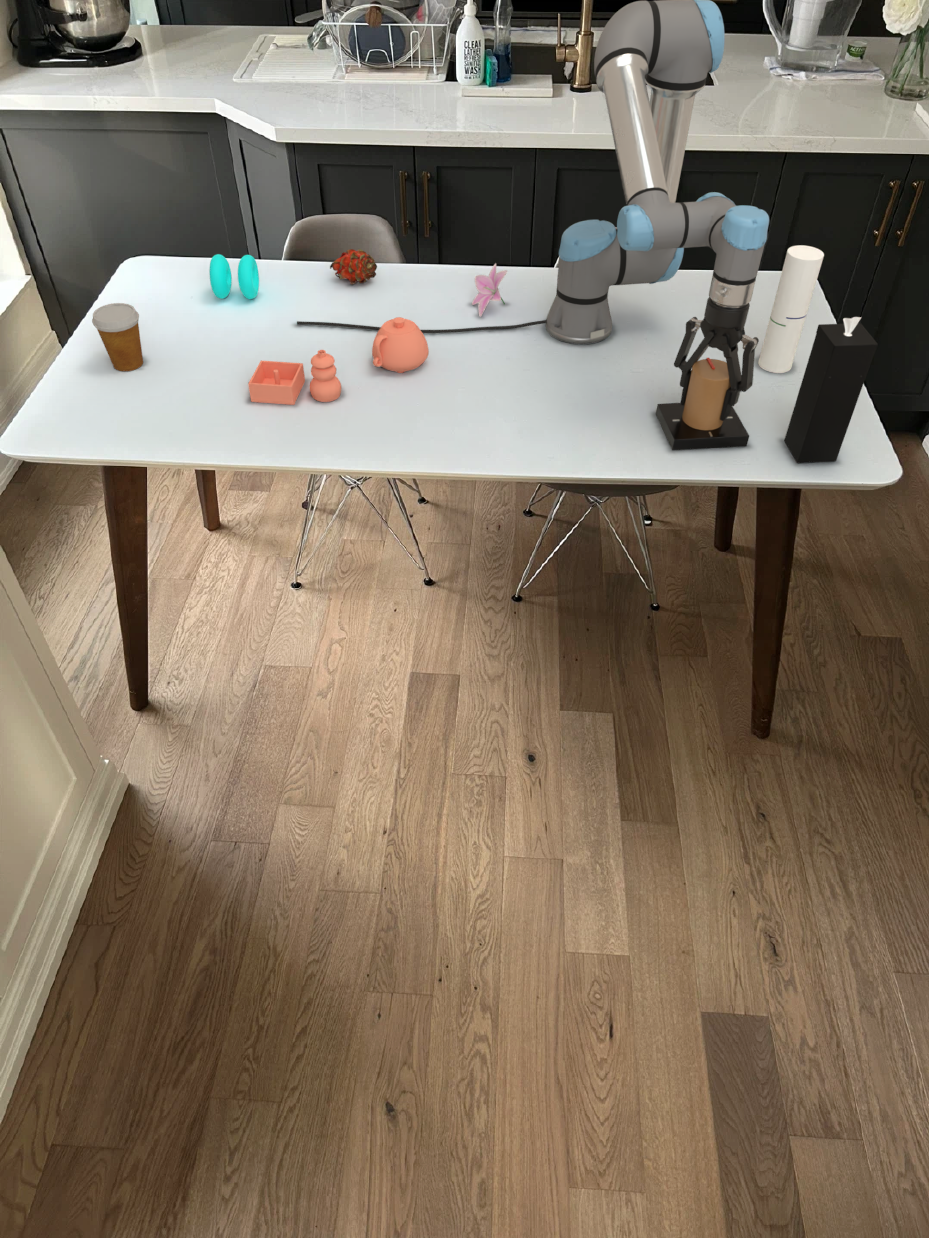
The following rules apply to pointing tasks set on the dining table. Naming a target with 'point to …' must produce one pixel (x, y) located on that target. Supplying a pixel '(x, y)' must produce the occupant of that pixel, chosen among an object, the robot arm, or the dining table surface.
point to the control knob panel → (692, 438)
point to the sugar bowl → (399, 346)
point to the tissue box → (829, 390)
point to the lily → (488, 288)
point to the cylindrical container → (790, 308)
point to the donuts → (223, 279)
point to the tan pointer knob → (706, 394)
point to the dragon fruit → (354, 266)
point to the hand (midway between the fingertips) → (704, 409)
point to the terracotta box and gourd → (294, 381)
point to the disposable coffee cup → (120, 335)
